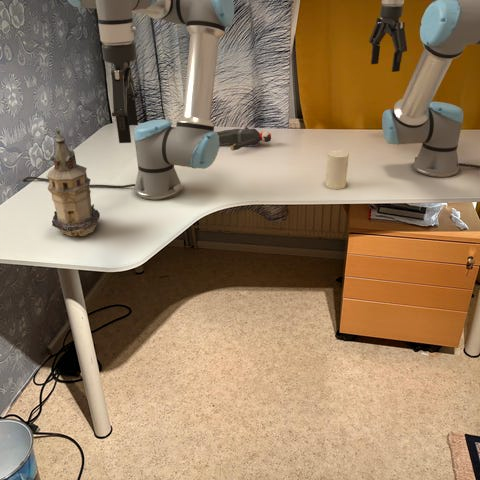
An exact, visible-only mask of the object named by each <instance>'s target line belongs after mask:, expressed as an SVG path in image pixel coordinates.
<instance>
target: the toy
mask: <svg viewBox="0 0 480 480" xmlns="http://www.w3.org/2000/svg"><path fill="white" fill-rule="evenodd" d="M215 132H216V133H217V134H218V135H219V141H220V144H219V145H230V146H229V150H230V151H232V152H233V151H234V152H235V151H237V150H240V149H241V148H244V147H257V146H259V145H260V143H261V142H264V143H269V142H271V141H272V134H271V132H268V131H262V132H259V131H258V130H257V129H256V128H249V127H248V126H243V127H242V128H232V129H225V130H220V131H215Z"/></svg>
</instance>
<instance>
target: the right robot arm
mask: <svg viewBox="0 0 480 480" xmlns="http://www.w3.org/2000/svg"><path fill="white" fill-rule="evenodd" d="M404 3H405V0H381V6H380V10H379V11H380V13H379V16H380V17H376V19H375V25H374V27H373V29H372V33H371V35H370V37H369V40H368V43H370V44H371V46H372V47H371V59H370V65H378V64H379V59H380V52H381V51H380V50H381V43H382V40H383V39H384V37H385V36H386V35H389V36H390V37H391V41H392V43H393V47H394V52H393V58H392V65H391V72H392V73H397V72H400V69H401V63H402V59H403V53H405V52H408V45H407V39H406V31H405V25H406V23H405V21H400V19H401V18H402V17H403V13H404V12H403V10H404V6H403V5H404ZM420 23H421V25H420V27H419V36H420V40H421V42H422V47H423V50H422V53H421V56H420V58H419V60H418V63H417V64H416V67H415V69H414V71H413V74H412V75H411V78H410V80H409V83H408V85H407V87H406V89H405V92H404V94H403V96H402V98H401V99H398V100H397V101H396V102H395V104H394V106H393V108H392V109H390V108H389V109H386V110H384V112H382V120H381V127H382V133H383V138H384V140H385V141H386V143H387V144H389V145H397V146H399V145H411V144H412V145H413V144H421V148H420V150H419V152H418V154H417V156H415V157H414V161H413V166H412V168H413V170H414V171H415V172H417V173H419V174H420V175H423V176H427V177H432V178H451V177H453V176H456V175H457V174H458V172H459V169H460V167H467V168H476V169H480V165H478V164H470V163H462V162H459V159H458V147H459V141H460V135H461V131H462V125H463V123H464V110H463V109H462V108H461V107H459V106H457V105H455V104H451V103H447V102H441V101H433V99H434V97H435V95H436V93H437V91H438V89H439V87H440V85H441V83H442V81H443V79H444V78H445V75H446V73H447V71H448V70H449V68H450V66H451V63H452V61H453V60H454V59H457V58H458V57H460V56H461V55H462V54H463V52H464V50H465V49H466V47H467V45H480V0H434V1H432V2H431V3H430V4H429V5H428V7H426V9H425V10H424V13H423V15H422V18H421V21H420Z"/></svg>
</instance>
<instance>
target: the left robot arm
mask: <svg viewBox="0 0 480 480" xmlns="http://www.w3.org/2000/svg"><path fill="white" fill-rule="evenodd" d="M67 2H68V3H69V4H70V5H71V6H72V7H73V8H74V7H75V8H81V9H96V13H97V19H98V20H97V21H98V23H97V24H98V30H99V31H98V33H99V38H100V39H99V40H100V42H101V43H102V45H101V51H102V59H103V62H105V63H108V64H113V70H111V71H110V74H111V83H112V84H111V86H112V87H111V89H112V104H113V106H112V107H113V111H112V112H111V116H112V117H115V120H116V128H117V136H118V143H119V144H131V143H132V137H131V136H132V135H131V128H130V126H135V128H134V130H133V132H134V134H133V135H134V144H135V154H136V161H137V175H136V179H135V183H130V184H124V185H114V184H89V188H111V189H112V188H113V189H116V188H117V189H125V188H131V187H132V188H133V187H134V193H135V195H136V196H137V197H138V198H141V199H143V200H148V201H161V200H168V199H171V198H174V197H176V196H178V195H179V194H180V193H181V192H182V182H181V180H180V177H179V176H178V173H177V171H176V169H175V166H179V167H184V168H191V169H204V170H205V169H207V168H209V167H211V166H212V165H213V164H214V162H215V160H216V159H217V156H218V154H219V149H220V145H221V144H220V141H219V135H218V134H217V133H216V132H217V131H215V125H214V123H213V122H212V121H211V115H212V114H211V113H212V104H213V96H214V89H215V88H214V87H215V80H216V79H215V78H216V70H217V62H218V61H217V60H218V52H219V42H220V39H221V38H222V37H223V36H225V34H226V28H228V27H231V26H232V25H233V22H234V18H235V4H234V0H67ZM133 13H134V14H142V15H147V16H148V17H149V18H150V19H154V20H160V21H165V22H168V23H173V24H178V25H186V26H185V29H186V31H187V32H188V34H189V35H190V37H189V45H188V46H189V47H188V55H187V65H186V66H187V67H186V77H185V84H184V85H185V86H184V94H183V95H184V96H183V105H182V106H183V107H182V114H181V115H182V116H181V117H180V118H178V119H177V120H176V124H175V125H176V126H175V127H174V126H172V123H171V121H170V120H168V119H164V118H163V119H153V120H147V121H144V122H142V123H140V124H139V122H138V121H139V120H138V114H137V104H136V99H139V94H138V93H137V90H136V87H135V82H134V76H133V71H132V68H131V63H132V62H134V61H136V60H137V49H136V43H135V42H133V41H135V33H134V32H136V31H137V27H136V26H133V25H134V21H133ZM27 180H37V181H44V182H45V181H46V182H49V179H48V178H47V177H46V178H45V177H37V176H27V177H25V178H23V179H22V182H26V181H27Z"/></svg>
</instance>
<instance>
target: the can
mask: <svg viewBox="0 0 480 480" xmlns="http://www.w3.org/2000/svg"><path fill="white" fill-rule="evenodd" d="M349 155H350V154H349V152H347V151H346V150H342V149H333V150H329V151H328V152H327V160H326V174H325V186H326V187H327V188H329V189H333V190H341V189H344V188H346V186H347V178H348V167H349V166H348V165H349Z"/></svg>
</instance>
